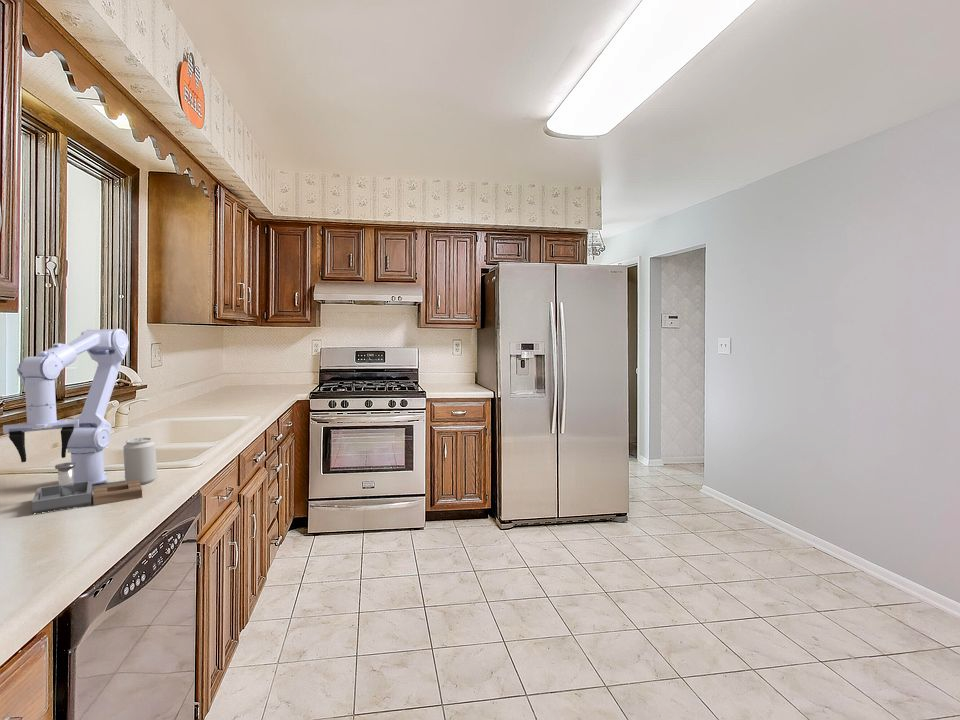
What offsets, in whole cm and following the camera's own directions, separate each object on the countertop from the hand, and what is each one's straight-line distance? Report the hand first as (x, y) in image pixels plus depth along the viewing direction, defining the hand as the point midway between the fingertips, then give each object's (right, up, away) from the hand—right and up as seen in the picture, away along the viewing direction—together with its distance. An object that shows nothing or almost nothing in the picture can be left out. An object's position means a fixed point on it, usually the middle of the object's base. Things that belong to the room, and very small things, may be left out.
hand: (44, 459), depth 133 cm
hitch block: (+16, -10, +4) cm, 19 cm away
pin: (+6, -10, -1) cm, 12 cm away
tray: (+6, -11, -1) cm, 12 cm away
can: (+14, -9, +16) cm, 23 cm away
